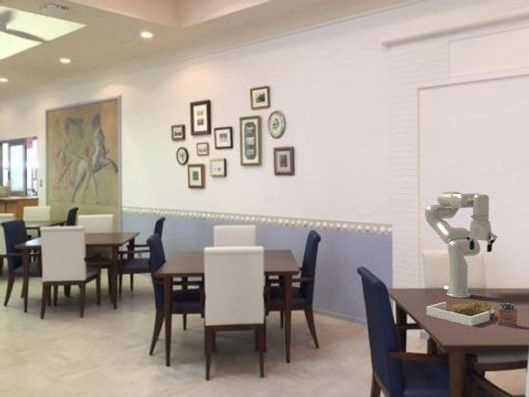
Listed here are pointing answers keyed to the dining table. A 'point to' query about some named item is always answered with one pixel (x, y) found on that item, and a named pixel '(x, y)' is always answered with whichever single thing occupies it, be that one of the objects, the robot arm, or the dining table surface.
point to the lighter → (507, 315)
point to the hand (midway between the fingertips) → (480, 250)
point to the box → (456, 315)
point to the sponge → (473, 309)
